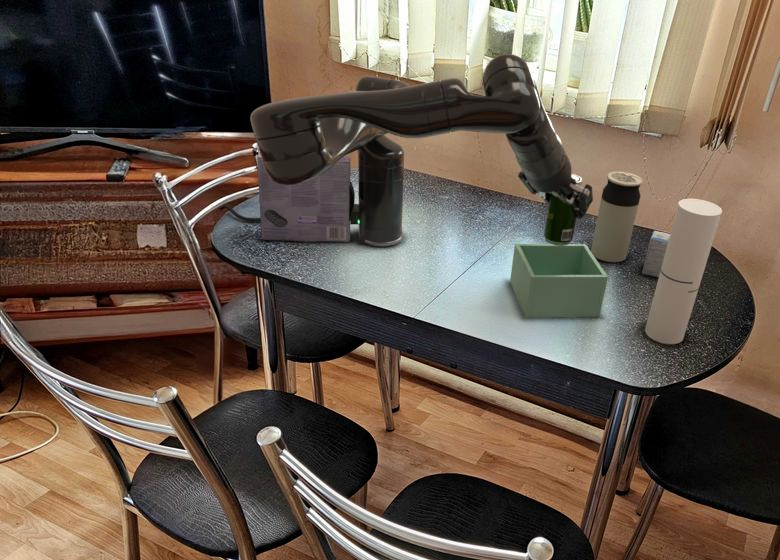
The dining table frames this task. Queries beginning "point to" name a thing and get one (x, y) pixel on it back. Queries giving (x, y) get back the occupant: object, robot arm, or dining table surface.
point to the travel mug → (616, 216)
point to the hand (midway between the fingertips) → (567, 209)
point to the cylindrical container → (682, 269)
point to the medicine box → (655, 253)
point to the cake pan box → (307, 206)
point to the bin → (557, 280)
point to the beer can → (560, 220)
